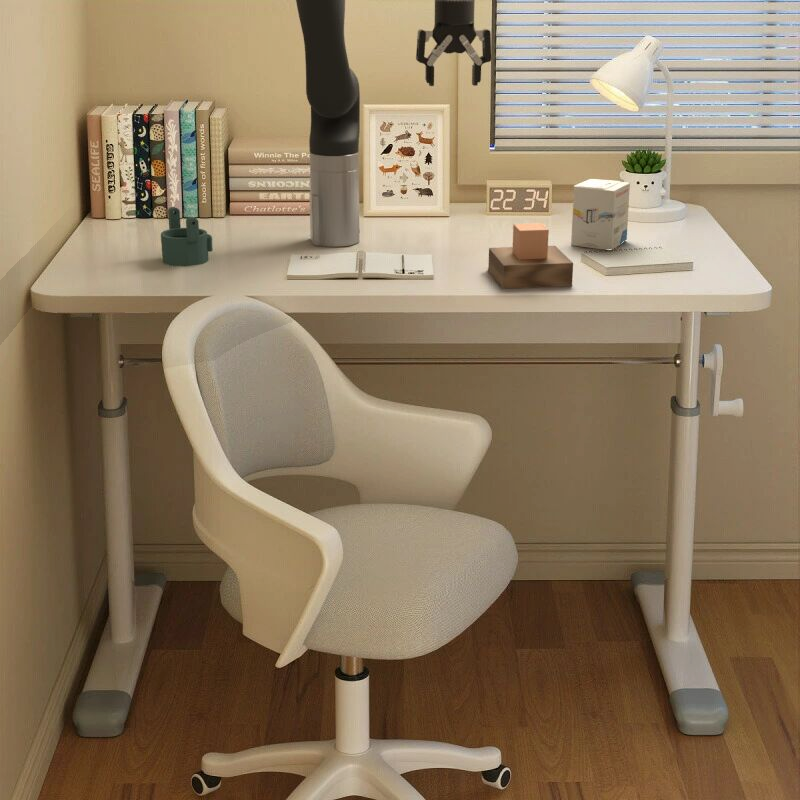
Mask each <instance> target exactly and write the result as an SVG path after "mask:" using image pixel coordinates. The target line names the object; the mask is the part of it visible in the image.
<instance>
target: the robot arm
mask: <svg viewBox="0 0 800 800" xmlns="http://www.w3.org/2000/svg"><path fill="white" fill-rule="evenodd" d="M475 1H476V0H434V26H433V29H432V30H425V29H421V28H420V29H418V31H417V36H416V37H417V38H416V53H415V54H416V55H415V60H416V61H417V62H418V63H420V64H423V65H424V67H425V82H426V83H427V84H428V86H429V87H434V86H435V66H434V64H435V63H436V61H437V60H438V58H439V57H441V56H442V54H443V53H445V54H454V53H456V54H463V53H466V54H467V55H468V56H469V59H471V61H472V62H473V64H472V65H471V67H472V68H471V85H472V86H473V87H475V86H478V83H481V80H482V66H483V65H484V64H486V63H490V62H491V61H492V40H491V39H492V33H491V30H490V29H487V28H484V29H483V28H482V29H480V30H479V29H478V30H476V28H475ZM295 2H296V9H297V13H298V17H299V23H300V27H301V32H302V37H303V43H304V55H305V93H306V94H305V95H306V99H307V102H308V104H309V105H310V131H309V140H308V141H309V142H308V143H309V175H310V176H309V178H310V179H309V180H310V183H309V184H310V188H309V189H310V190H309V220H310V221H309V223H310V225H309V226H310V240H311V241H310V242H311V243H312V245H313V246H321V247H335V248H336V247H338V248H339V247H348V246H353V245H355V244H358V243H359V242H360V232H361V231H360V168H359V167H360V166H359V165H360V158H359V157H360V156H359V155H360V153H359V144H360V143H359V142H360V133H361V132H360V129H361V127H360V126H361V125H360V123H361V122H360V120H361V119H360V117H361V115H360V114H361V112H360V111H361V110H360V109H361V107H360V106H361V102H360V101H361V100H360V98H361V95H360V94H361V93H360V84H359V80H358V79H359V78H358V77H357V75H356V74H355V72H354V71H353V69H352V68H351V67H350V64H349V58H348V54H347V49H346V48H347V47H346V42H345V41H346V40H345V17H346V0H295ZM431 37H432V39H433V40H434V41H435V43H436V44H435V46H434V47H433V49H432V50H431V51H430V53H429V55H428V56H427V57H425V54H426V53H425V51H426V43H428V42H429V40H430V38H431ZM476 38H478V40H479V41H480V42H481V44H482V45H481V47H482V55H481V56H479V54H478V53H477V51H476V50H475V49H474V47H473V46H472V43H473V42H474V40H475V39H476Z"/></svg>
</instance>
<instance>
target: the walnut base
mask: <svg viewBox="0 0 800 800" xmlns="http://www.w3.org/2000/svg"><path fill="white" fill-rule="evenodd" d="M512 249H513V246H509V247H508V246H505V247H504V246H503V247H502V246H501V247H488V267H487V269H488V271H489V272H490V274H491V275H492V277H493V278H494V279H495V280H496V281H497V283H498V284H499V285H500V286H501V288H502V289H519V288H520V289H523V288H527V289H528V288H548V287H549V288H551V287H571V286H573V277H574V276H573V273H574V262H573V261H572V260H571V259H570V258H569V257H567V255H565V253H563V252H562V250H561V249H559V248H558V247H557V246H556V245H548V255H547V259H518V258H517V257H516V256H515V255H514V253H513V252H512Z"/></svg>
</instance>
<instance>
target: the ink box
mask: <svg viewBox="0 0 800 800" xmlns="http://www.w3.org/2000/svg"><path fill="white" fill-rule="evenodd" d="M630 185H631V183H630V182H624V181H620V180H610V179H598V178H597V179H596V178H590V179H587V180H585V181H582V182H580V183H577V184H575V185H573V198H572V199H573V200H572V201H573V204H572V221H571V223H572V224H571V239H570V245H571V246H574V247H582V248H589V249H597V250H602V249H613V250H615V249H616V248H618V247H619V246H620V245H619V244H621V243H622V242H623V241H625V240H627V239H628V222H629V206H630V189H631V188H630ZM622 244H623V243H622ZM622 244H621V245H622ZM618 245H619V246H618ZM617 246H618V247H617ZM614 248H615V249H614Z"/></svg>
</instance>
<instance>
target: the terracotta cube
mask: <svg viewBox="0 0 800 800" xmlns="http://www.w3.org/2000/svg"><path fill="white" fill-rule="evenodd" d="M512 225H513V226H512V228H513V229H512V230H513V231H512V247H513V249H512V252H513V253H514V255H515V256H516V257H517V258H518V259H547V255H548V246H549V232H550V231H549V229H548V228H547V227H546V226H545V225H544V224H543V223H542V222H535V223H533V222H532V223H513V224H512Z"/></svg>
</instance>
